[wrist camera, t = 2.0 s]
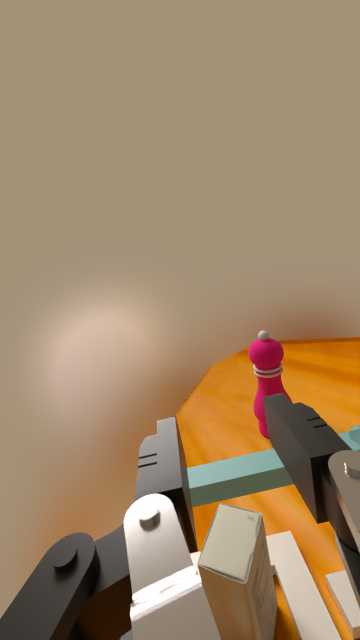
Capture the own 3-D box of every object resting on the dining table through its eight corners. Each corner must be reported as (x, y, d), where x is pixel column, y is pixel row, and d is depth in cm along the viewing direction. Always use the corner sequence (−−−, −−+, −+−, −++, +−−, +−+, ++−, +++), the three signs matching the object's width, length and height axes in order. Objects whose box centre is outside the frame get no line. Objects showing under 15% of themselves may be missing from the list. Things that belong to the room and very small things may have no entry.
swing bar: (376, 438, 26) (376, 421, 26) (405, 463, 23) (405, 444, 23) (151, 489, 26) (147, 473, 25) (151, 522, 23) (145, 504, 22)
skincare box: (238, 587, 32) (219, 498, 29) (279, 603, 30) (263, 509, 27) (219, 663, 27) (194, 563, 24) (267, 689, 25) (246, 583, 22)
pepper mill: (267, 446, 52) (252, 341, 47) (251, 424, 59) (235, 331, 54) (304, 434, 53) (292, 330, 48) (283, 414, 60) (271, 321, 55)
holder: (359, 524, 36) (351, 404, 32) (494, 708, 22) (510, 532, 18) (171, 568, 36) (139, 452, 32) (181, 787, 21) (124, 624, 17)
